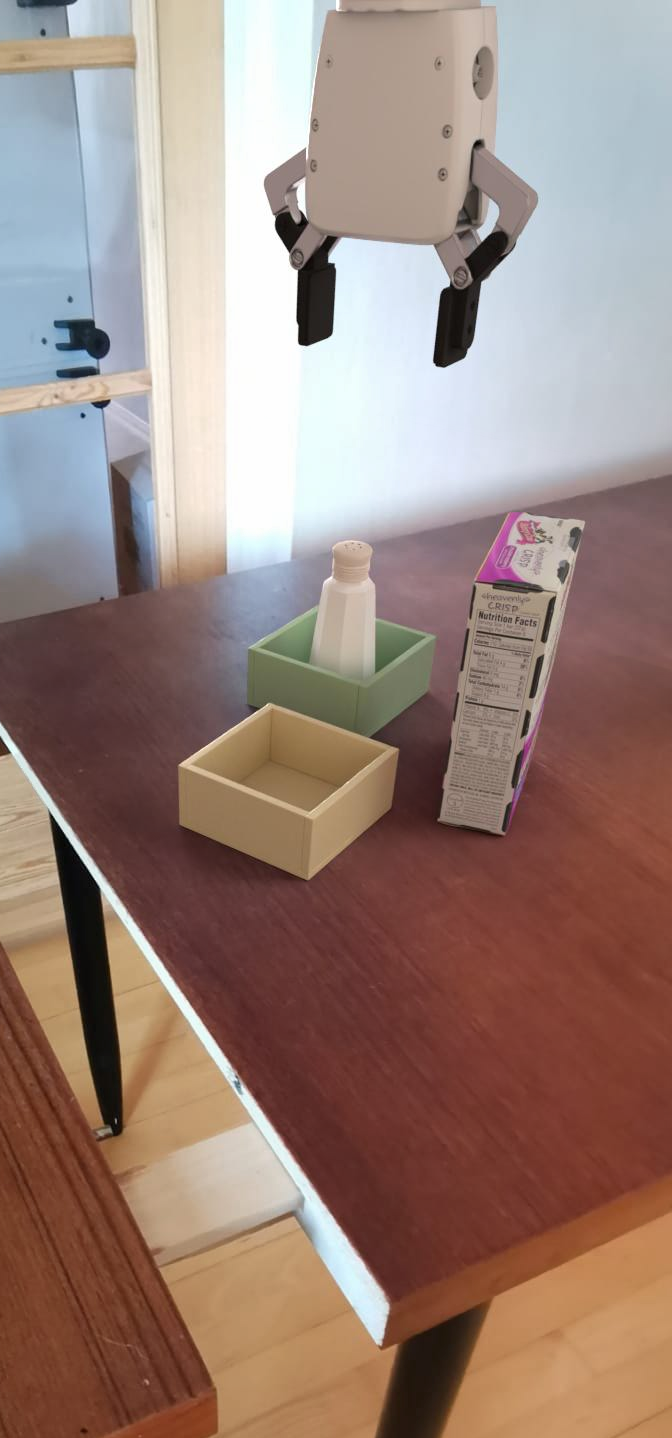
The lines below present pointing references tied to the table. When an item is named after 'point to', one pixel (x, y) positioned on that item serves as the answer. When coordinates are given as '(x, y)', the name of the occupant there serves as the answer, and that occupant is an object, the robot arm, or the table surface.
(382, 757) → the cream bin
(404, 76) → the robot arm
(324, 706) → the green bin
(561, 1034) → the table surface
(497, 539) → the candy bar box
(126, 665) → the table surface
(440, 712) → the table surface
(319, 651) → the pepper shaker
